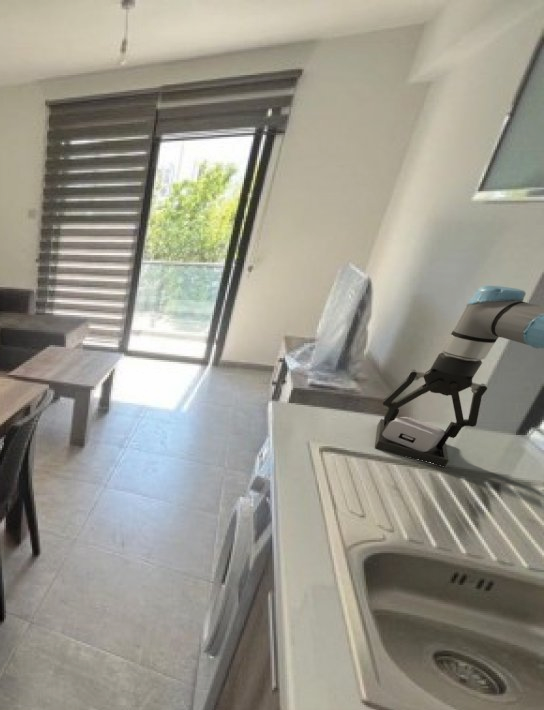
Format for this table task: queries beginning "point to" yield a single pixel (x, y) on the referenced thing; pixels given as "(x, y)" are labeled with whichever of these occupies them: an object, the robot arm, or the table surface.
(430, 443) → the charger
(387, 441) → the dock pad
